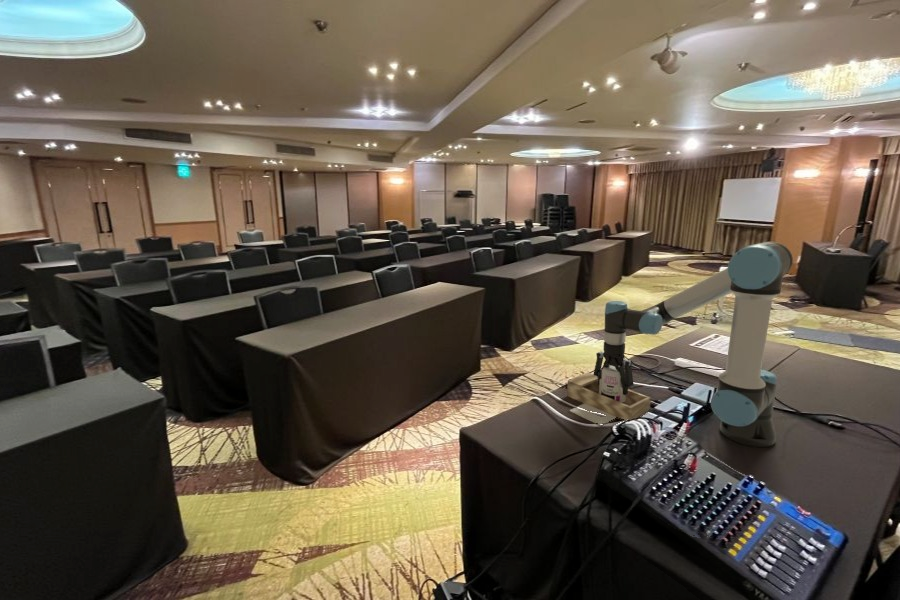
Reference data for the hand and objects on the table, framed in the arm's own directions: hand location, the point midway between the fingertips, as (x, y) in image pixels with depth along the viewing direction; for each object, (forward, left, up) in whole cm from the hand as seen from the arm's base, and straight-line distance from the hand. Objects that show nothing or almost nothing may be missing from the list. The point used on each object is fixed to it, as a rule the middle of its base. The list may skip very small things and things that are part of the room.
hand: (612, 397), depth 159 cm
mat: (0, +12, -3) cm, 12 cm away
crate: (+2, 0, -3) cm, 4 cm away
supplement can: (0, 0, -3) cm, 3 cm away
